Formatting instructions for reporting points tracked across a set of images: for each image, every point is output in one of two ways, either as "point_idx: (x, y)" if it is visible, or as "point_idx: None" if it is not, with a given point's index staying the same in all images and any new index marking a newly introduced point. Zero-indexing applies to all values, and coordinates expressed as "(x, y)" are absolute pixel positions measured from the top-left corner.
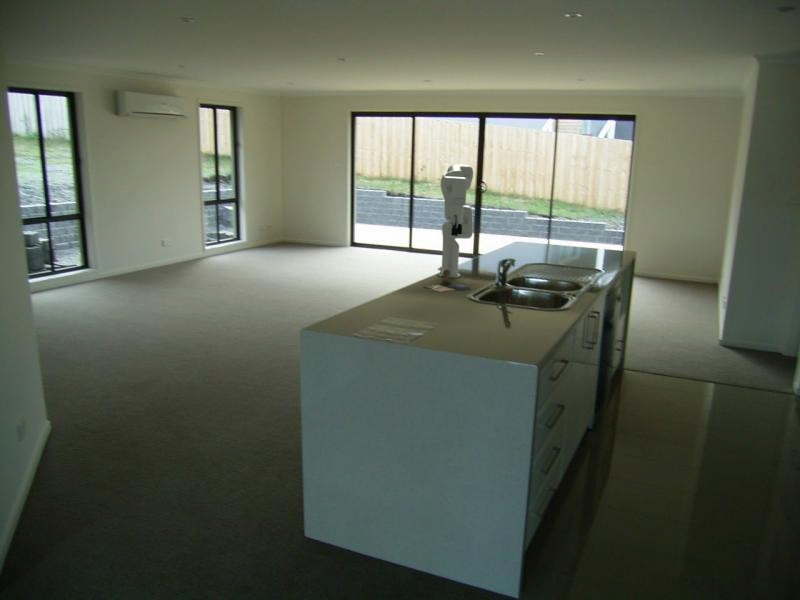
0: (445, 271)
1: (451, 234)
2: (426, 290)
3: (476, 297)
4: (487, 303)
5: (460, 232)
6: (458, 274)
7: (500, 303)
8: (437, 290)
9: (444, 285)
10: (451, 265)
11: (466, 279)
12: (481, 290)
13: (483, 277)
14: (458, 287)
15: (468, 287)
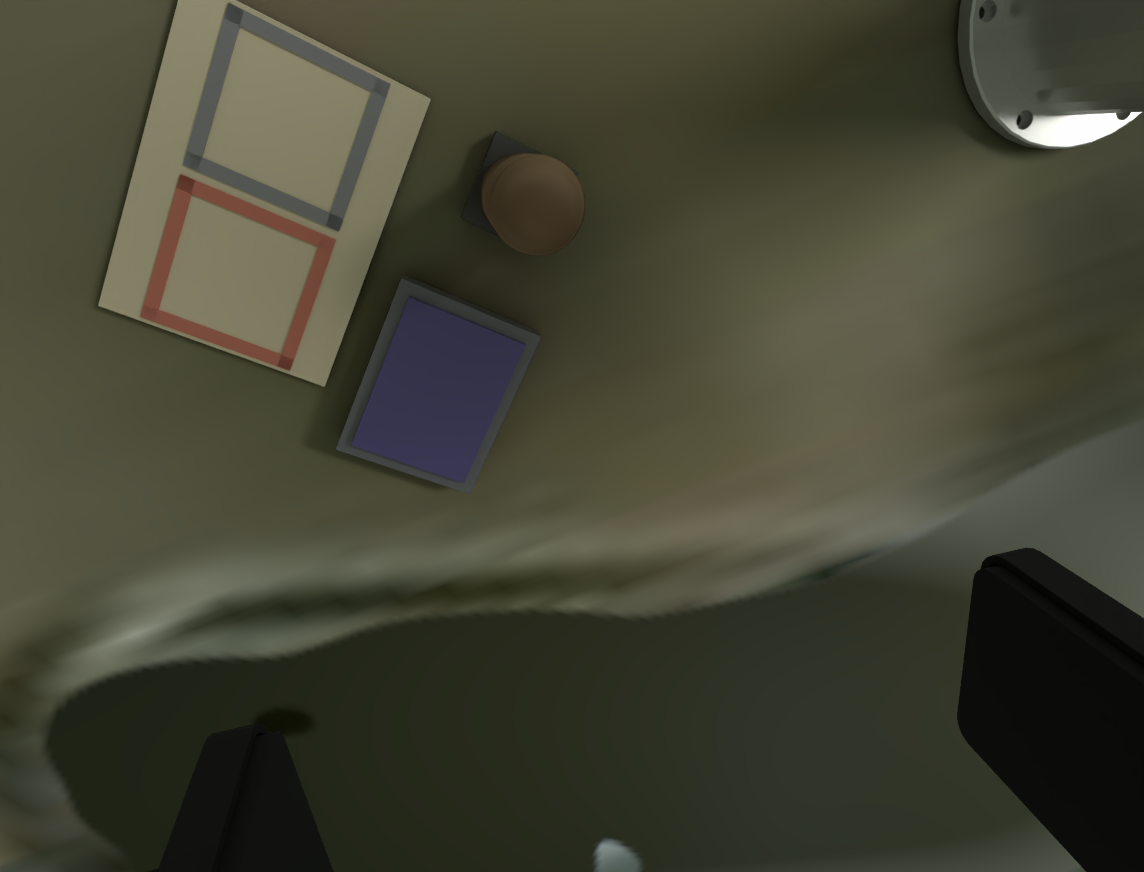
0: (499, 204)
1: (200, 755)
2: (54, 105)
3: (166, 657)
4: (13, 801)
5: (996, 749)
6: (1091, 121)
7: (105, 857)
8: (117, 247)
9: (470, 194)
10: (1111, 44)
11: (943, 263)
12: (493, 576)
13: (1102, 365)
14: (353, 418)
15: (449, 485)
